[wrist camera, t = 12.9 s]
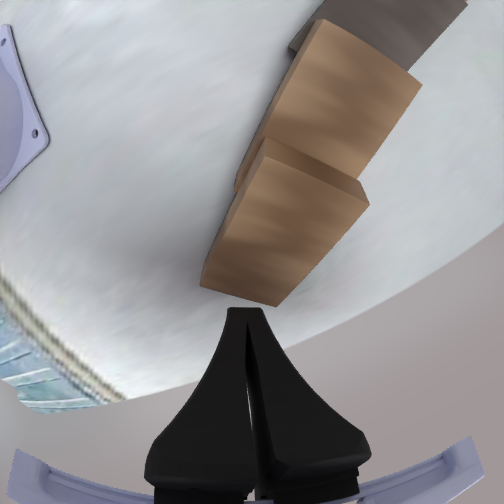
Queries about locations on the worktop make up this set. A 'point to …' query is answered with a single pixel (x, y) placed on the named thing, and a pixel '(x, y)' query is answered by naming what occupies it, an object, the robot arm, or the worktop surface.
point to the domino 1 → (335, 102)
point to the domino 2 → (281, 224)
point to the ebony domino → (388, 24)
